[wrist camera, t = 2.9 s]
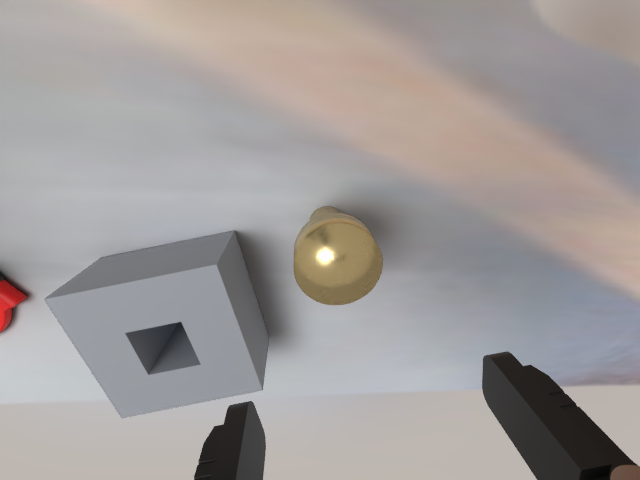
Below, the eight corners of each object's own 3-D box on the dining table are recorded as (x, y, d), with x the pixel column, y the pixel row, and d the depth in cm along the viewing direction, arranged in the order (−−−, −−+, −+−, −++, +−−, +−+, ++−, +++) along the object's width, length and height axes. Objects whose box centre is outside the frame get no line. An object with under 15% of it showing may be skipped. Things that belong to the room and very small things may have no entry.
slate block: (100, 257, 27) (43, 299, 21) (234, 230, 26) (216, 264, 20) (155, 359, 31) (121, 418, 25) (269, 337, 31) (262, 390, 25)
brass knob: (288, 198, 26) (284, 235, 18) (352, 185, 26) (377, 216, 18) (301, 256, 28) (304, 312, 20) (361, 244, 28) (386, 295, 20)
